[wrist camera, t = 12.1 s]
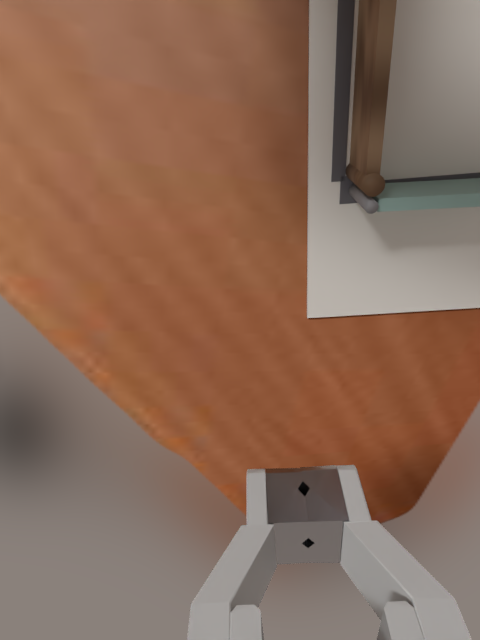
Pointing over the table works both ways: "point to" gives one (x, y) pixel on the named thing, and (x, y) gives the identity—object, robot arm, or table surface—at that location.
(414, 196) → the gate panel
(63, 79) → the table surface
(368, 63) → the fence
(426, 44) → the card
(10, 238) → the table surface
